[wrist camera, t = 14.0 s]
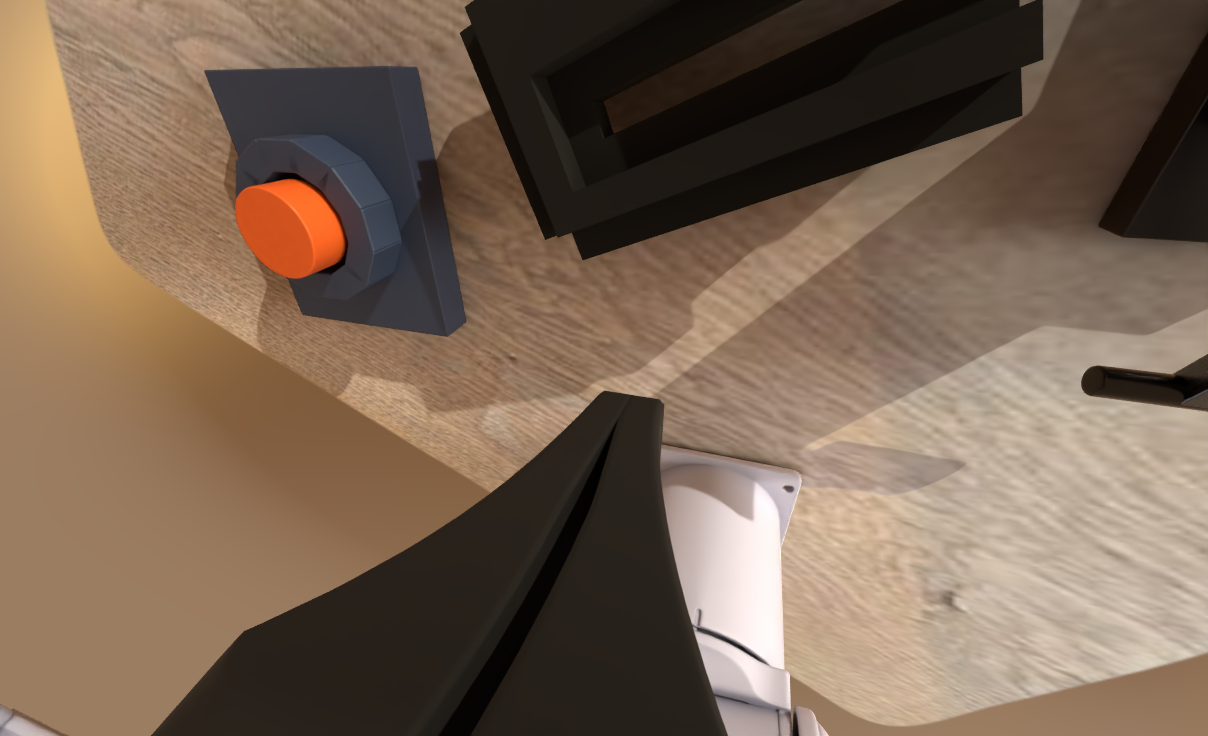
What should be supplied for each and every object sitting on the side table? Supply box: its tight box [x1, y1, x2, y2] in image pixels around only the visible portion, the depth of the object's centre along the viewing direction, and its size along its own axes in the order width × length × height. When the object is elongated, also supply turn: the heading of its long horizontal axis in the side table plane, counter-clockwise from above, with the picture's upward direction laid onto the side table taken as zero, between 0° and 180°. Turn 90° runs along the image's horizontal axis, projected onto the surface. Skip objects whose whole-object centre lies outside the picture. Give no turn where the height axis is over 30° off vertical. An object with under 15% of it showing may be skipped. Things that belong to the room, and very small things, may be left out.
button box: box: [204, 66, 466, 337], centre depth 20 cm, size 11×9×4 cm
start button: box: [235, 179, 347, 279], centre depth 18 cm, size 4×4×2 cm
